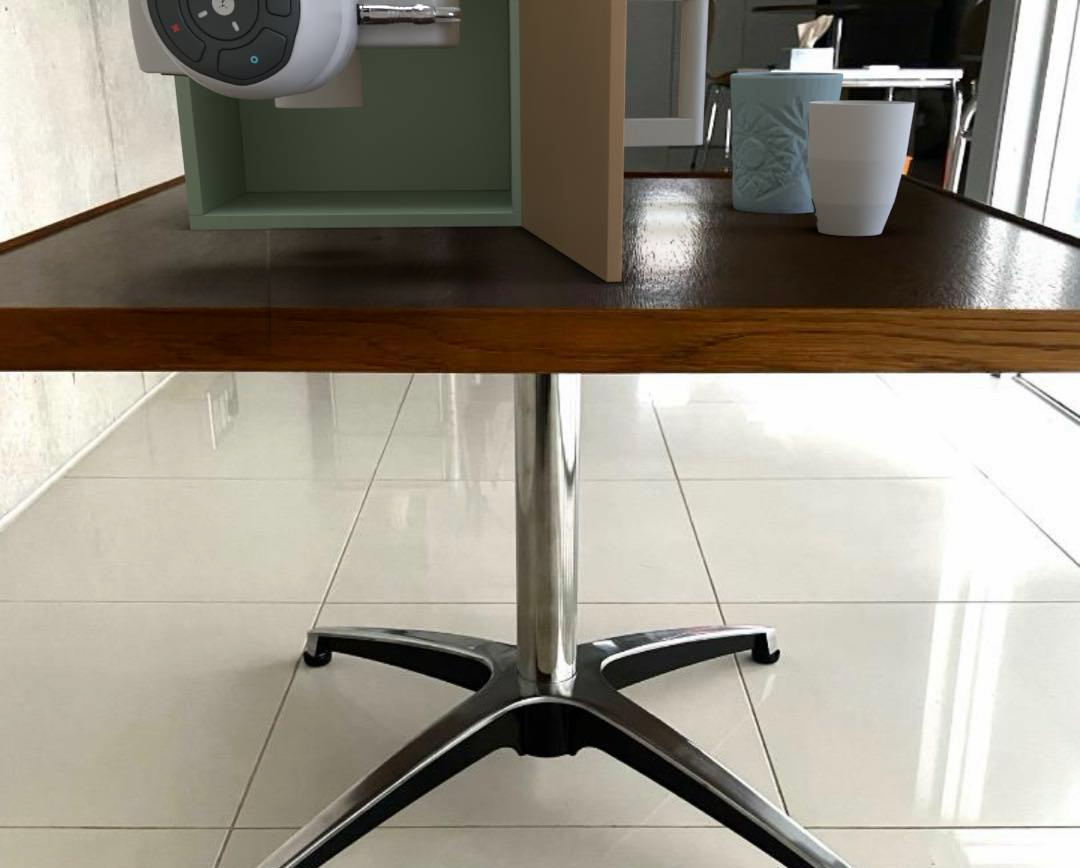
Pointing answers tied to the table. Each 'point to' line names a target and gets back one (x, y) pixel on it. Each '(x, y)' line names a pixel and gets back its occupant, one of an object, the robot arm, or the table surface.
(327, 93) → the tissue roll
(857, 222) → the cup
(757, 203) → the embossed blue planter
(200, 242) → the table surface
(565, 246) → the cupboard door
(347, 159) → the cupboard
